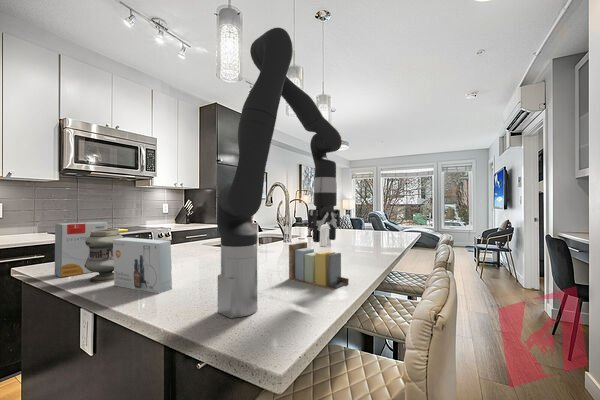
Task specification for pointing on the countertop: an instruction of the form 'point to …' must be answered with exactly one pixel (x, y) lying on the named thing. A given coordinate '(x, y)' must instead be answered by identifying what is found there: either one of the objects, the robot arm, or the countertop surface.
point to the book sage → (310, 267)
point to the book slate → (301, 262)
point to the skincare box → (142, 264)
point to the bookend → (334, 271)
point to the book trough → (292, 265)
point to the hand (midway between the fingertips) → (324, 240)
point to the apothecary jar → (102, 254)
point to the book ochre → (322, 267)
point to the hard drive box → (73, 247)
